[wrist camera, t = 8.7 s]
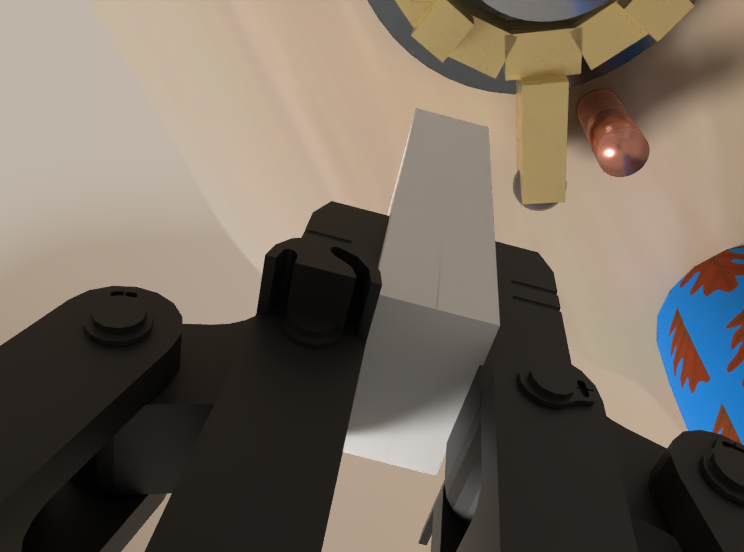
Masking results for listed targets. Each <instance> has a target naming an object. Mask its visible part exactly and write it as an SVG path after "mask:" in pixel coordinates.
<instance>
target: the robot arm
mask: <svg viewBox="0 0 744 552" xmlns="http://www.w3.org/2000/svg"><path fill="white" fill-rule="evenodd" d="M556 294H557V288H556V283H555V278H554V273H553V271H552V270H551V269H550V267H549V266H548V265H547V263H546V262H545V261H544V259H543V258H542V257H541V256H540V254H539V253H538V252H534V251H530V250H526V249H523V248H519V247H515V246H511V245H507V244H503V243H500V242H496V241H495V232H494V215H493V198H492V181H491V164H490V147H489V130H488V127H485V126H482V125H478V124H474V123H470V122H466V121H462V120H459V119H455V118H451V117H447V116H443V115H439V114H436V113H432V112H428V111H424V110H420V109H417V108H416V110H415V113H414V117H413V121H412V125H411V128H410V132H409V136H408V140H407V143H406V147H405V151H404V155H403V159H402V162H401V166H400V170H399V174H398V177H397V181H396V185H395V189H394V192H393V196H392V200H391V204H390V207H389V211H388V215H383V214H379V213H375V212H371V211H367V210H364V209H360V208H356V207H352V206H348V205H344V204H341V203H337V202H333V201H331V202H330V203H328V204H326V205H325V206H323V207H321V208H320V209H318V210H316V211H315V212H313V214H312V216H311V218H310V220H309V223H308V225H307V227H306V229H305V232H304V234H303V236H302V238H292V239H289V240H287V241H284V242H281V243H279V244H276V245H275V246H274V247H273V248H272V249H271V250H270V251H269V252H268V253H267V254H266V255H265V261H264V267H263V274H262V281H261V288H260V294H259V301H258V308H257V314H256V316H254V317H252V318H250V319H247V320H245V321H240V322H236V323H231V324H220V325H219V324H218V325H201V324H182V316H181V314H180V313H179V311H178V309H177V308H176V306H175V305H174V303H172V302H171V301H169V300H168V299H166V298H164V297H163V296H161V295H160V294H158V293H156V292H152V291H148V290H145V289H142V288H138V287H124V286H110V287H105V288H100V289H94V290H89V291H87V292H84V293H82V294H80V295H78V296H76V297H74V298H72V299H69V300H68V301H66V302H65V303H63V304H62V305H60V306H59V307H57V308H56V309H54V310H53V311H51V312H50V313H48V314H47V315H46V316H44V317H42V318H41V319H39V320H38V321H37V322H35V323H33V324H32V325H31V326H29V327H28V328H26V329H25V330H23V331H22V332H20V333H19V334H18V335H16V336H14V337H13V338H11V339H10V340H8V341H7V342H5V343H4V344H2V345H1V346H0V552H121V551H122V550H123V549H124V547H125V546H126V545H127V544H128V542H129V541H130V540H131V539H132V538H133V536H134V535H135V534H136V533H137V532H138V530H139V529H140V528H141V527H142V525H143V524H144V523H145V522H146V520H148V518H149V517H150V516H151V514H152V513H153V512H154V511H155V510H156V509H157V507H158V506H159V505H160V504H161V503H162V501H163V500H164V498H165V496H166V494H167V493H172V495H171V497H170V499H169V501H168V503H167V505H166V507H165V509H164V512H163V514H162V516H161V518H160V520H159V523H158V525H157V526H156V529H155V531H154V533H153V535H152V537H151V539H150V541H149V543H148V546H147V548H146V550H145V552H321V549H322V546H323V541H324V536H325V532H326V527H327V522H328V518H329V513H330V508H331V504H332V499H333V495H334V489H335V485H336V481H337V476H338V471H339V467H340V462H341V457H342V453H343V452H345V453H349V454H353V455H357V456H361V457H365V458H369V459H373V460H377V461H380V462H384V463H388V464H392V465H396V466H400V467H404V468H408V469H412V470H416V471H420V472H424V473H428V474H432V475H435V476H436V474H437V472H438V470H439V467H440V465H441V463H442V461H443V458H444V456H445V454H446V469H445V480H444V483H443V485H442V487H441V490H440V492H439V494H438V496H437V499H436V501H435V503H434V505H433V508H432V510H431V512H430V514H429V517H428V519H427V521H426V524H425V526H424V528H423V531H422V534H421V537H420V540H419V543H420V544H423V545H427V543H428V541H429V539H430V537H431V534H432V542H431V552H744V445H742V444H740V443H738V442H736V441H734V440H732V439H730V438H728V437H725V436H723V435H721V434H717V433H713V432H708V431H704V430H693V431H685V432H682V433H681V434H680V435H679V436H678V437H676V438H675V439H674V440H673V441H672V443H671V444H670V445H669V447H668V448H664V447H662V446H660V445H658V444H656V443H654V442H652V441H650V440H648V439H646V438H644V437H642V436H640V435H638V434H636V433H634V432H632V431H630V430H628V429H626V428H625V427H623V426H621V425H620V424H618V423H616V422H614V421H612V420H611V419H610V418H608V417H607V416H606V413H605V409H604V404H603V401H602V399H601V397H600V395H599V392H598V390H597V388H596V386H595V385H594V384H593V383H592V382H591V381H590V380H589V379H588V378H587V377H586V375H585V374H584V373H583V372H582V371H580V370H579V369H577V368H576V367H574V366H573V365H572V364H571V359H570V354H569V349H568V344H567V339H566V334H565V329H564V324H563V318H562V313H561V312H559V311H560V303H559V298H558V296H557V295H556Z"/></svg>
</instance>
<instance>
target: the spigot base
mask: <svg viewBox="0 0 744 552" xmlns="http://www.w3.org/2000/svg"><path fill="white" fill-rule="evenodd" d="M466 1H468V2H471V3H473V4H475V5H477V6H479V7H481V8H483V9H485V10H487V11H489V12H491V13H493V14H495V15H497V16H499V17H501V18H503V19H505V20H507V21H509V20H518V19H523V20H528V21H538V22H543V21H557V20H563V19H569V18H572V17H575V16H579V15H582V14H584V13H587V12H589V11H591V10H593V9H596V8H597V7H599V6H601V5H603V4H604V3H606V2H608V1H609V0H466ZM689 1H690V2H691V3H693V2H694V1H695V0H689ZM368 2H369V4H370V5H371V7H372V9H373V10H374V12H375V14H376V15H377V17H378V19H379V20H380V21H381V22H382V24H383V25H384V26H385V28H386V29H387V30H388V31H389V33H390V34H391V35H392V36H393V38H394V39H395V40H396V41H397V42H398V43H399V44H401V45H402V46H403V47H404V48H405V49H406V50H407V51H408V52H409V53H410V54H411V55H412V56H414V57H415V58H416V59H418V60H419V61H420V62H422V63H423V64H424V65H426V66H427V67H429V68H430V69H432V70H434V71H436V72H437V73H439V74H441V75H443V76H445V77H446V78H449V79H451V80H454V81H456V82H459V83H461V84H464V85H466V86H469V87H473V88H477V89H481V90H485V91H489V92H498V93H507V94H516V80H507V81H506V80H505V75H504V70H503V66H502V68H501V70H500V72H499V73H498V75H497V77H496V79H495V78H493V77H491V76H488V75H486V74H484V73H482V72H480V71H478V70H476V69H474V68H472V67H470V66H467V65H465V64H463V63H461V62H459V61H457V60H455V59H453V58H451V57H447V58H446V59H445V60H444V62H443V63H442V62H441V61H440V60H439V59H438V58H436V57H435V56H434V55H433V54H432V53H431V52H429V51H428V50H427V49H426V48H425V47H424V46H423V45H421V44H420V43H419V42H418V41H417V40H416V39H414V38H413V37H412V36H411V34H412V32H413V29H414V28H413V26H412V25H411V24H410V22H409V21H408V19H407V18H406V16H405V15H404V13H403V12H402V10H401V9H400V7H399V6H398V4H397V3H396V1H395V0H368ZM655 41H656V40H655V39H654V38H652V37H651V36H650V35H649V34H648V35H646V36H645V37H643V38H641V39H640V40H638V41H637V42H635V43H634V44H632V45H630V46H629V47H627V48H626V49H624V50H622V51H621V52H619V53H618V54H616V55H615V56H613V57H611V58H610V59H608V60H607V61H605V62H604V63H602V64H600V65H599V66H597V67H596V68H594V69H593V70H591V69H590V67H589V66H588V64H587V63H586V61H585V59H584V58H583V56H582V61H581V74H574V75H566V77H567V79H568V81H569V87H572V86H575V85H579V84H582V83H585V82H587V81H590V80H592V79H595V78H597V77H600V76H602V75H604V74H606V73H608V72H610V71H612V70H614V69H615V68H617V67H619V66H621V65H623V64H625V63H626V62H628V61H629V60H631V59H632V58H634V57H635V56H637V55H638V54H639V53H641V52H642V51H644V50H645V49H647V48H648V47H649V46H651V45H652V44H653V43H654V42H655ZM577 116H578V119H579V121H580V123H581V126H582V128H583V130H584V132H585V134H586V137H587V139H588V141H589V143H590V145H591V147H592V150H593V152H594V154H595V156H596V158H597V160H598V163H599V165H600V167H601V168H602V170H603V171H604V172H606V173H607V174H609V175H611V176H615V177H625V176H629V175H631V174H634V173H635V172H637V171H638V170H640V169H641V168H642V167H643V166H644V164H645V163H646V161H647V159H648V156H649V145H648V142H647V140H646V139H645V137H644V136H643V134H642V133H641V131H640V130H639V129H638V127H637V126H636V124H635V123H634V121H633V120H632V118H631V117H630V115H629V114H628V112H627V111H626V109H625V108H624V107H623V105H622V104H621V102H620V101H619V99H618V98H617V96H616V95H615V94H614V93H612V92H611V91H608V90H604V89H599V90H594V91H592V92H590V93H588V94H587V95H585V96H584V97H583V98H582V100H581V101H580V103H579V105H578V109H577Z"/></svg>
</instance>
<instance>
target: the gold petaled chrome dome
mask: <svg viewBox="0 0 744 552" xmlns="http://www.w3.org/2000/svg"><path fill="white" fill-rule="evenodd" d="M395 1H396V3H397V4H398V6H399V7H400V9H401V10H402V12H403V13H404V15H405V16H406V18H407V19H408V21H409V22H410V24H411V25H412V26H413V28H414V29H413V32H412V34H411V36H412V37H413V38H414V39H416V40H417V41H418V42H419V43H420V44H421V45H423V46H424V47H425V48H426V49H427V50H428V51H429V52H431V53H432V54H433V55H434V56H435V57H436V58H438V59H439V60H440V61H441V62H442V63H443V62H444V60H445V59H446V58H447V57H451V58H453V59H455V60H457V61H459V62H461V63H463V64H465V65H467V66H470V67H472V68H474V69H476V70H478V71H480V72H482V73H484V74H486V75H488V76H491V77H493V78H495V79H496V77H497V75H498V73H499V72H500V70H501V68H502V66H503V70H504V75H505V80H506V81H507V80H516V132H517V173H516V175H515V177H514V181H513V191H514V194H515V197H516V198H517V200H518V201H519V203H520V204H522V205H523V206H524V207H526V208H528V209H530V210H535V211H543V210H547V209H550V208H552V207H554V206H555V205H556V204H558V203H559V202H565V190H566V156H567V125H568V94H569V81H568V79H567V77H566V75H574V74H581V61H582V56H583V58H584V59H585V61H586V63H587V64H588V66H589V67H590V69H591V70H593V69H594V68H596V67H597V66H599V65H600V64H602V63H604V62H605V61H607V60H608V59H610V58H611V57H613V56H615V55H616V54H618V53H619V52H621V51H622V50H624V49H626V48H627V47H629V46H630V45H632V44H634V43H635V42H637V41H638V40H640V39H641V38H643V37H645V36H646V35H648V34H649V35H650V36H651V37H652V38H654V39H655V40H656V41H657V42H658V41H659V40H660V39H661V38H662V37H664V36H665V35H666V34H667V33H668V32H669V31H670V30H671V29H672V28H673V27H674V26H675V25H676V24H677V23H678V22H679V21H680V20H681V19H682V18H683V17H684V16H685V15H686V14H687V13H688V12H689V11H690V10H691V9H692V8H693V7H694V5H693V4H692V3H691V2H690V1H689V0H609V1H608V2H606V3H604V4H603V5H601V6H599V7H597V8H596V9H593V10H591V11H589V12H587V13H584V14H582V15H579V16H575V17H572V18H569V19H563V20H557V21H543V22H538V21H528V20H523V19H518V20H509V21H507V20H505V19H503V18H501V17H499V16H497V15H495V14H493V13H491V12H489V11H487V10H485V9H483V8H481V7H479V6H477V5H475V4H473V3H471V2H468V1H466V0H395Z"/></svg>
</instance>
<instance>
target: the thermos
mask: <svg viewBox="0 0 744 552" xmlns="http://www.w3.org/2000/svg"><path fill="white" fill-rule="evenodd" d="M657 344H658V348H659V351H660V354H661V357H662V361H663V364H664V367H665V371H666V374H667V377H668V380H669V384H670V387H671V389H672V392H673V394H674V397H675V399H676V402H677V404H678V407H679V409H680V412H681V414H682V417H683V419H684V422H685V424H686V427H687V429H688V431H693V430H704V431H708V432H713V433H717V434H721V435H723V436H725V437H728V438H730V439H732V440H734V441H736V442H738V443H740V444H742V445H744V246H741V247H737V248H732V249H728V250H725V251H724V252H722V253H720V254H718V255H716V256H714V257H712V258H710V259H709V260H707V261H705V262H703V263H701V264H699V265H697V266H695V267H694V268H693V269H692V270H691V271H690V272H689V273H688V274H687V275H686V276H685V277H684V278H683V279H682V280H680V281H679V282H678V283H677V284H676V285H675V286H674V287H673V288H672V289H671V290H670V292H669V294H668V296H667V298H666V300H665V302H664V304H663V306H662V308H661V310H660V312H659V314H658V318H657Z"/></svg>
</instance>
